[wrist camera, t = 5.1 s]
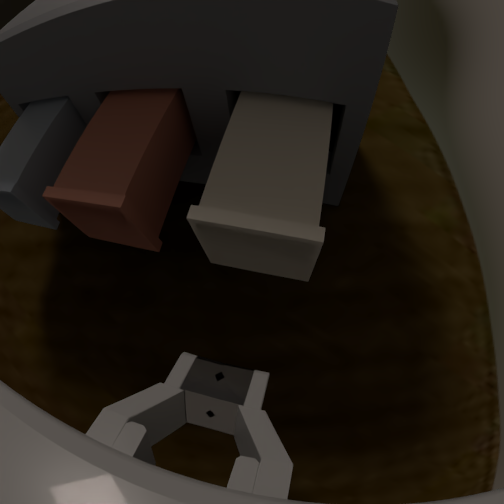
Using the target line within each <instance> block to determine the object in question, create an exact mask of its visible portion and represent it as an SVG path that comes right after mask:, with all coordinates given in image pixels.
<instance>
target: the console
mask: <svg viewBox="0 0 504 504" xmlns="http://www.w3.org/2000/svg"><path fill="white" fill-rule="evenodd" d="M397 9H398V4H397V2H396V0H35V1H34V2H33V3H32V4H30V5H29V6H28V7H27V8H25V10H23V11H22V12H21V13H19V14H18V15H17V16H16V17H15V18H14V19H12V20H11V21H10V22H9V23H8V24H7V25H6V26H4V27H3V28H2V29H1V30H0V93H1V94H2V96H3V97H4V98H5V100H6V101H7V102H8V104H9V105H10V106H11V108H12V109H13V110H14V111H15V113H16V114H17V115H18V117H20V116H21V114H22V113H23V112H24V110H25V109H26V107H27V106H28V105H29V103H30V102H32V101H37V100H43V99H49V98H55V97H61V96H69V98H70V100H71V101H72V103H73V104H74V106H75V108H76V109H77V111H78V112H79V114H80V115H81V117H82V118H83V120H84V122H85V123H86V125H88V124H89V122H90V121H91V119H92V117H93V116H94V114H95V113H96V111H97V110H98V108H99V107H100V105H101V104H102V102H103V101H104V100H105V98H106V97H107V95H108V94H109V92H110V91H116V90H132V89H161V88H182V91H183V94H184V98H185V101H186V104H187V108H188V111H189V114H190V118H191V121H192V124H193V128H194V131H195V134H196V137H197V139H196V141H195V144H194V146H193V148H192V151H191V153H190V156H189V158H188V160H187V163H186V165H185V168H184V170H183V173H182V175H181V178H180V180H179V181H185V182H193V183H201V184H206V183H207V180H208V178H209V175H210V172H211V169H212V166H213V164H214V161H215V158H216V155H217V153H218V150H219V147H220V144H221V142H222V139H223V136H224V134H225V131H226V128H227V126H228V123H229V121H230V118H231V115H232V113H233V110H234V108H235V105H236V103H237V100H238V98H239V95H240V93H241V91H248V92H259V93H269V94H277V95H286V96H293V97H300V98H307V99H313V100H319V101H325V102H331V103H333V112H332V123H331V129H335V130H336V138H335V142H334V146H333V151H332V152H328V161H327V169H326V178H325V186H324V194H323V201H322V203H325V204H330V205H335V206H339V203H340V200H341V197H342V195H343V192H344V189H345V186H346V183H347V180H348V177H349V175H350V172H351V169H352V166H353V163H354V160H355V157H356V154H357V151H358V148H359V145H360V142H361V139H362V135H363V132H364V129H365V126H366V123H367V120H368V116H369V113H370V110H371V107H372V103H373V100H374V96H375V93H376V90H377V86H378V83H379V79H380V76H381V72H382V68H383V65H384V61H385V57H386V54H387V49H388V46H389V42H390V38H391V34H392V30H393V26H394V22H395V18H396V13H397Z"/></svg>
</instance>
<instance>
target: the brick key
mask: <svg viewBox="0 0 504 504" xmlns="http://www.w3.org/2000/svg"><path fill="white" fill-rule="evenodd" d="M196 139H197V137H196V134H195V131H194V128H193V124H192V121H191V118H190V114H189V111H188V108H187V104H186V101H185V98H184V94H183V91H182V88H161V89H132V90H116V91H110V92H109V94H108V95H107V97H106V98H105V100H104V101H103V102H102V104H101V105H100V107H99V108H98V110H97V111H96V113H95V114H94V116H93V117H92V119H91V121H90V122H89V124H88V125H87V127H86V129H85V130H84V132H83V133H82V135H81V137H80V138H79V140H78V142H77V143H76V145H75V147H74V149H73V150H72V152H71V154H70V156H69V157H68V159H67V161H66V163H65V165H64V167H63V168H62V170H61V172H60V174H59V176H58V178H57V180H56V182H55V184H54V186H53V187H51V186H47V187H46V189H45V191H44V193H43V195H42V196H43V197H44V198H45V199H46V200H47V201H48V202H49V203H50V204H51V205H52V206H54V207H55V208H56V209H57V210H58V211H59V212H60V213H61V214H63V215H64V216H65V217H66V218H67V219H68V220H69V221H71V222H72V223H73V224H74V225H75V226H76V227H77V228H79V229H80V230H81V231H82V232H83V233H85V234H86V235H87V236H88V237H91V238H95V239H100V240H105V241H109V242H114V243H118V244H123V245H128V246H132V247H137V248H142V249H146V250H151V251H156V252H160V249H161V246H162V241H161V240H160V239H159V238H158V237H159V234H160V232H161V229H162V226H163V223H164V220H165V217H166V215H167V212H168V209H169V207H170V204H171V201H172V199H173V196H174V193H175V191H176V188H177V185H178V183H179V180H180V178H181V175H182V173H183V170H184V168H185V165H186V163H187V160H188V158H189V156H190V153H191V151H192V148H193V146H194V144H195V141H196Z"/></svg>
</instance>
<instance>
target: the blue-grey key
mask: <svg viewBox="0 0 504 504" xmlns="http://www.w3.org/2000/svg"><path fill="white" fill-rule="evenodd" d="M86 127H87V125H86V123H85V122H84V120H83V118H82V117H81V115H80V114H79V112H78V111H77V109H76V108H75V106H74V104H73V103H72V101H71V100H70V98H69V96H61V97H55V98H49V99H43V100H37V101H32V102H30V103H29V105H28V106H27V107H26V109H25V110H24V112H23V113H22V114H21V116H20V117H19V119H18V120H17V122H16V123H15V125H14V126H13V128H12V129H11V131H10V132H9V134H8V135H7V137H6V139H5V140H4V142H3V143H2V145H1V147H0V209H1V210H3V211H4V212H5V213H7V214H8V215H9V216H10V217H12V218H13V219H14V220H16V221H21V222H25V223H29V224H34V225H38V226H42V227H47V228H51V229H55V230H57V228H58V226H59V223H60V222H59V221H58V220H57V217H58V214H59V211H58V210H57V209H56V208H55V207H54V206H52V205H51V204H50V203H49V202H48V201H47V200H46V199H45V198H44V197H43V196H42V195H43V193H44V191H45V189H46V187H47V186H51V187H53V186H54V184H55V182H56V180H57V178H58V176H59V174H60V172H61V170H62V168H63V167H64V165H65V163H66V161H67V159H68V157H69V156H70V154H71V152H72V150H73V149H74V147H75V145H76V143H77V142H78V140H79V138H80V137H81V135H82V133H83V132H84V130H85V129H86Z"/></svg>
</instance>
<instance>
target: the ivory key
mask: <svg viewBox="0 0 504 504" xmlns="http://www.w3.org/2000/svg"><path fill="white" fill-rule="evenodd" d="M332 112H333V103H331V102H325V101H319V100H313V99H307V98H300V97H293V96H286V95H277V94H269V93H259V92H248V91H241V93H240V95H239V98H238V100H237V103H236V105H235V108H234V110H233V113H232V115H231V118H230V121H229V123H228V126H227V128H226V131H225V134H224V136H223V139H222V142H221V144H220V147H219V150H218V153H217V155H216V158H215V161H214V164H213V166H212V169H211V172H210V175H209V178H208V180H207V183H206V186H205V189H204V192H203V195H202V198H201V201H200V204H199V206H196V205H191V206H190V209H189V212H188V215H187V220H188V222H189V224H190V225H191V227H192V229H193V231H194V233H195V235H196V237H197V238H198V240H199V242H200V244H201V246H202V248H203V249H204V251H205V253H206V255H207V257H208V259H209V260H210V262H211V263H214V264H219V265H224V266H229V267H234V268H239V269H244V270H250V271H255V272H260V273H265V274H270V275H275V276H281V277H286V278H291V279H296V280H302V281H307V282H308V281H309V279H310V276H311V274H312V271H313V269H314V266H315V263H316V261H317V258H318V256H319V253H320V250H321V248H322V245H323V242H324V236H325V229H326V228H324V227H319V223H320V216H321V208H322V201H323V194H324V186H325V178H326V169H327V161H328V152H329V143H330V133H331V123H332Z"/></svg>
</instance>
